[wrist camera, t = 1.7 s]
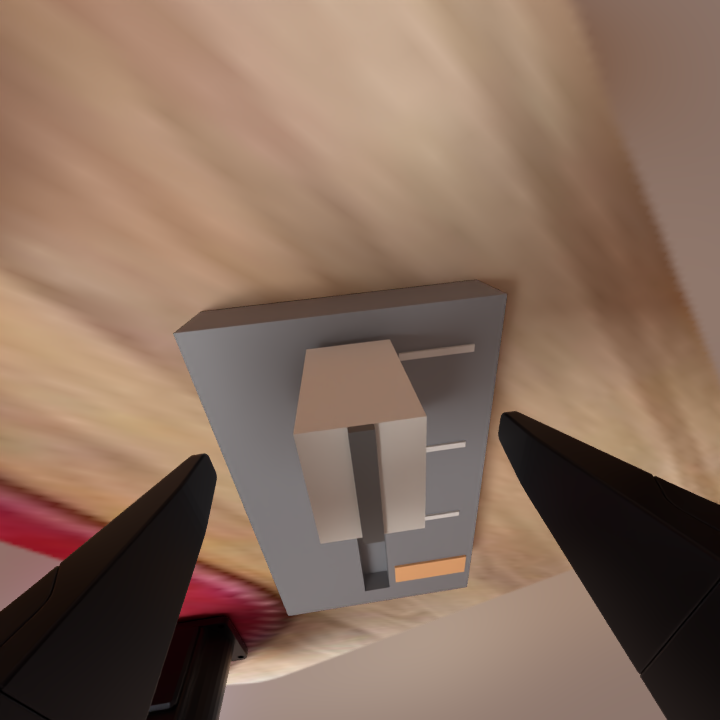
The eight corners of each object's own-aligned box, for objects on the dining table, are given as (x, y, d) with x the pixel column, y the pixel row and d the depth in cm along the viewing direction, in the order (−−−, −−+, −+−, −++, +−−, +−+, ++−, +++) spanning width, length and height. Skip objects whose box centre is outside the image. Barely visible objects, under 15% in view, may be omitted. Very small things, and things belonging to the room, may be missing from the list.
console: (453, 549, 22) (467, 589, 20) (292, 574, 22) (288, 618, 19) (476, 279, 13) (508, 294, 11) (200, 311, 13) (171, 334, 10)
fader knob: (388, 409, 14) (427, 534, 8) (323, 418, 13) (320, 551, 8) (384, 327, 12) (429, 422, 6) (308, 336, 12) (292, 440, 6)
